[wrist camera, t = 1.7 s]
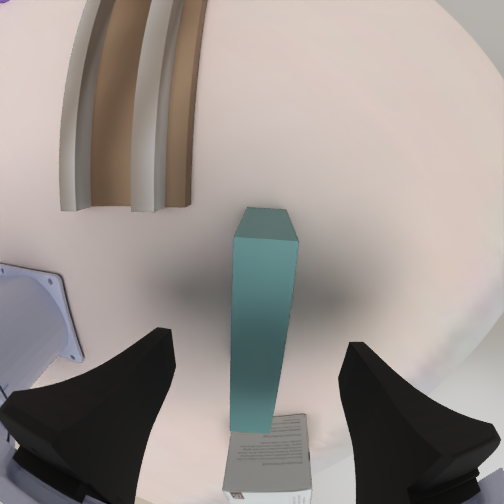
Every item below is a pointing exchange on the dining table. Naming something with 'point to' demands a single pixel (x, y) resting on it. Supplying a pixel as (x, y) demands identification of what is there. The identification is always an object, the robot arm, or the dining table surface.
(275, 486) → the skincare box
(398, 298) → the dining table surface
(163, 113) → the door track
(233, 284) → the door panel
